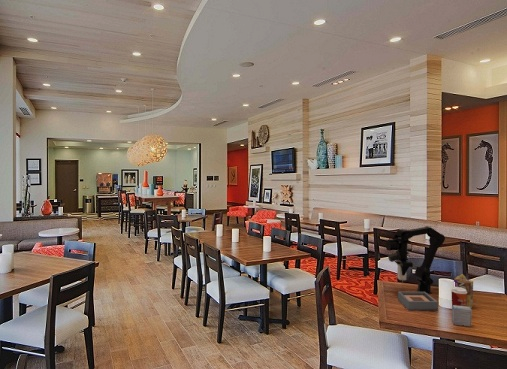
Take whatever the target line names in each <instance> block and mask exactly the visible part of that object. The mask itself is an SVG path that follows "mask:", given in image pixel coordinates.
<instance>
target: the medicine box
mask: <svg viewBox="0 0 507 369" xmlns="http://www.w3.org/2000/svg"><path fill="white" fill-rule="evenodd" d="M472 311H473V310H472V308H469V307H465V306H456V305H452V304H451V323H452V324H453V325H454V324H455V326H462V325H464V327H472V313H473V312H472Z"/></svg>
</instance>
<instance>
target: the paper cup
mask: <svg viewBox="0 0 507 369" xmlns="http://www.w3.org/2000/svg"><path fill="white" fill-rule="evenodd" d="M450 291H451V306H452V305H456V306H465V304H466V294H467V291H466V289H464V288H461V287H454V286H452V287H451V289H450Z"/></svg>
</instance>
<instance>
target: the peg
mask: <svg viewBox="0 0 507 369" xmlns="http://www.w3.org/2000/svg"><path fill="white" fill-rule="evenodd" d="M400 265H401V264H398V265H397V271H396V272H397V273H396V274H397V279H398V280H399V281H407V272H406V273H405V275H402V269H401V266H400Z"/></svg>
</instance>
